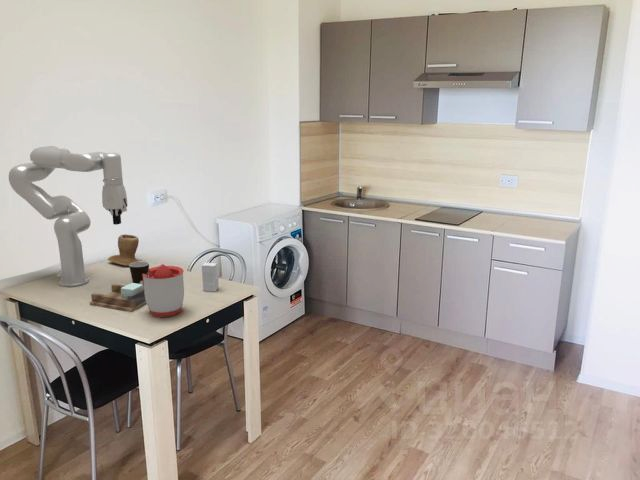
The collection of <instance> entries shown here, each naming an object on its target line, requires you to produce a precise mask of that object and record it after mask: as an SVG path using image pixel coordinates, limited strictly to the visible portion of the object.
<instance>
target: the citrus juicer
mask: <svg viewBox="0 0 640 480" xmlns="http://www.w3.org/2000/svg"><path fill="white" fill-rule="evenodd" d="M148 273H149V276H147V275H146V274H142V277H143V281H141V282H140V284H143V286H144V293H145V299H146V303H147V304H146V306H147V309H148V311H149V313H150V314H151V316H155V317H163V318H164V317H173V316H174V315H177V314H179V313H180V312H181V310H182V308H183V305H184V304H183V303H184V298H185V286H184V285H185V284H184V269H183V268H182V267H179V266H176V265H175V266H174V265H165V264H161V265H158V266H154V267H149V269H148Z"/></svg>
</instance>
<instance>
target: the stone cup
mask: <svg viewBox="0 0 640 480" xmlns="http://www.w3.org/2000/svg"><path fill="white" fill-rule="evenodd" d="M139 243H140V242H139V237H138V236H136V235H132V234H125V233H124V234H120V235H119V236H118V238H117V247H118V252H119V254H114V255H111V256H110V257H108V258H107V260H108V262H112V263H114V264H117V265H122V266H125V267H126V266H129V264H130V263H133V262H139V259H137V258H136V253H137V250H138V247H139Z"/></svg>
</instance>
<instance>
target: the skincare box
mask: <svg viewBox="0 0 640 480" xmlns="http://www.w3.org/2000/svg"><path fill="white" fill-rule="evenodd" d="M218 270H219V269H218V263H217V262H216V263H215V262H204V263H203V264H202V265H201V275H202V277H201V278H202V291H203V292H217V291H218V290H219V289H220V287H219V271H218Z"/></svg>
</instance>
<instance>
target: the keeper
mask: <svg viewBox="0 0 640 480" xmlns="http://www.w3.org/2000/svg"><path fill="white" fill-rule="evenodd" d="M123 286H124V287H122V288H121V298H127V299H128V295H130V294H132V293H134V292H136V291H138V290H140V289H142V288H144V286H143V284H137V283H133V282H131V283H129V284H126V285H123Z"/></svg>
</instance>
